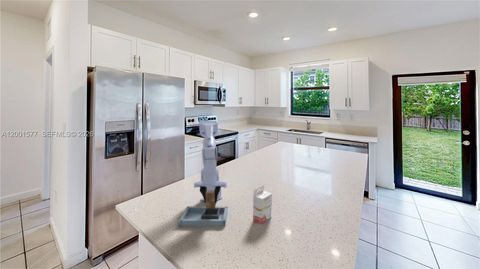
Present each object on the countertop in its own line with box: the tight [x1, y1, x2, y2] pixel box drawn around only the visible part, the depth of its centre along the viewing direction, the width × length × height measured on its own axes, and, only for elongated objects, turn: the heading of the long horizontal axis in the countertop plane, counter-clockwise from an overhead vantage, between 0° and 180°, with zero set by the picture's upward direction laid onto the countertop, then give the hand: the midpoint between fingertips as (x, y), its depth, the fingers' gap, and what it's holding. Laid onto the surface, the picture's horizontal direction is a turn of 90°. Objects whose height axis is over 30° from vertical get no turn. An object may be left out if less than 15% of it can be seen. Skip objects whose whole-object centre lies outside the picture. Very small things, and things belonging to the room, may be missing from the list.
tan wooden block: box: [205, 190, 217, 209], centre depth 95 cm, size 4×4×7 cm
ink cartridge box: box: [252, 184, 273, 225], centre depth 95 cm, size 9×5×15 cm, turn 141°
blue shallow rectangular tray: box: [178, 206, 229, 227], centre depth 97 cm, size 20×13×3 cm, turn 89°
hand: (210, 202), depth 96 cm, fingers closed on tan wooden block, 4 cm apart
